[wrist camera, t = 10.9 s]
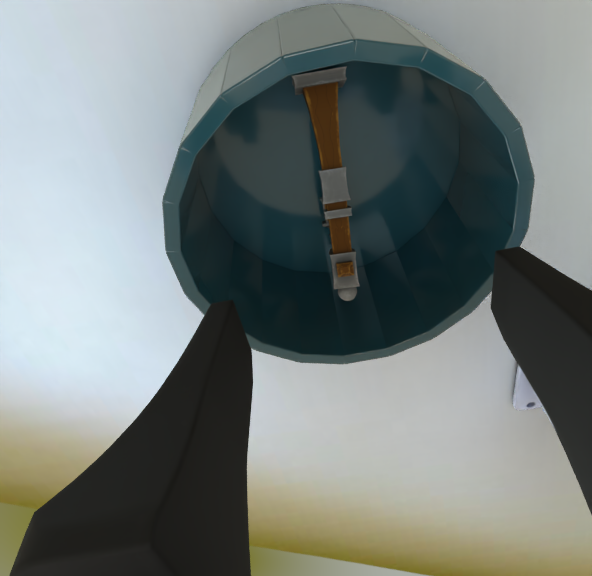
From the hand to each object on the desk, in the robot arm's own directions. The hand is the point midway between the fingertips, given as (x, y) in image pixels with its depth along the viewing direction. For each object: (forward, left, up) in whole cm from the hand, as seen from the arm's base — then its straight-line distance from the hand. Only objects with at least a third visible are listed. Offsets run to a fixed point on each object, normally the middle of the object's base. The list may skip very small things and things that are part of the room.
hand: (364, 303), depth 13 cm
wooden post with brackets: (0, -1, -8) cm, 8 cm away
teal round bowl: (0, 0, -9) cm, 9 cm away
